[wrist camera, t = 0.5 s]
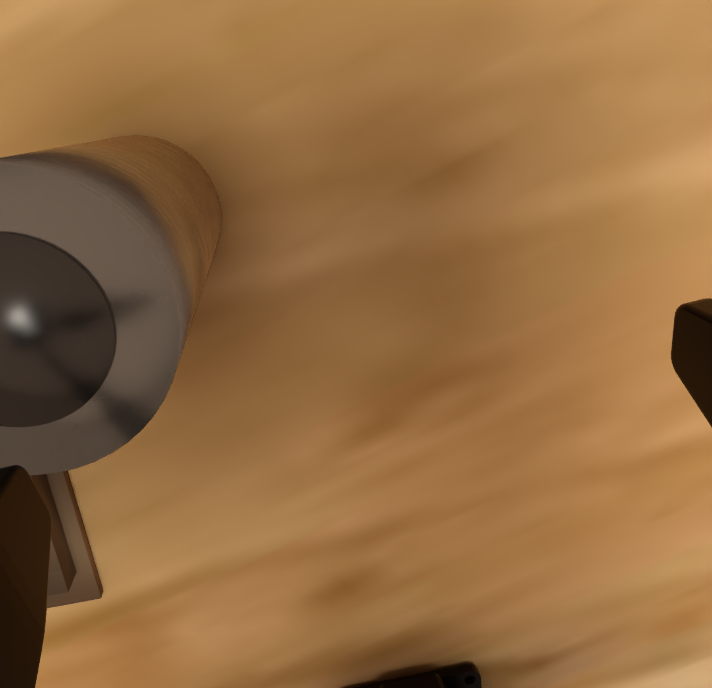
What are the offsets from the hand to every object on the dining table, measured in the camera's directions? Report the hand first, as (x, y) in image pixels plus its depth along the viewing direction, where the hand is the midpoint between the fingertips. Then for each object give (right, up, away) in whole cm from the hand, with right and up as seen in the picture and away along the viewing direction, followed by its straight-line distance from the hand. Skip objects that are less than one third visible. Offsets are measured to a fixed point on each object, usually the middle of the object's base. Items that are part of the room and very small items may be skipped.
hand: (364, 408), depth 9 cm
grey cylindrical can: (-7, +5, +14) cm, 17 cm away
